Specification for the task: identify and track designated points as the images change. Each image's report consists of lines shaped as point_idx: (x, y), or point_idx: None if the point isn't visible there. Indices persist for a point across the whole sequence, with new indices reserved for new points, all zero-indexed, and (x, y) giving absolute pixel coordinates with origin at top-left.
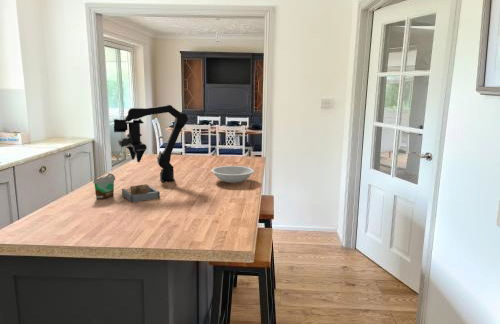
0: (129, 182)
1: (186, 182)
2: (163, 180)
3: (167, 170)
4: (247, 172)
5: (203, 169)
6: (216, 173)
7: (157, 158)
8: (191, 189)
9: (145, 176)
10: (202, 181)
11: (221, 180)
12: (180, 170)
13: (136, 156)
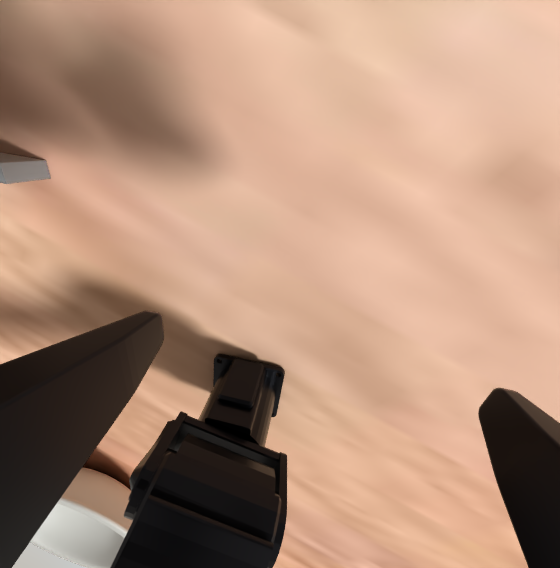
0: (373, 187)
1: (160, 406)
2: (230, 362)
3: (167, 426)
4: (92, 541)
5: (333, 549)
6: None
7: (233, 539)
8: (33, 351)
9: (444, 365)
10: (147, 444)
11: (83, 468)
12: (397, 516)
13: (7, 385)
